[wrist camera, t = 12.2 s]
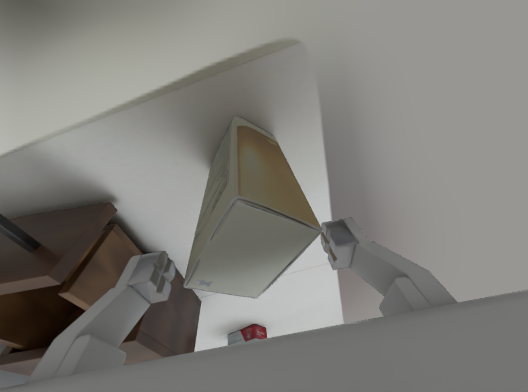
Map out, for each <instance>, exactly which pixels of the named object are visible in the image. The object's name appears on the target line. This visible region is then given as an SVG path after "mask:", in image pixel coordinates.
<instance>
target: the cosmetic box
mask: <svg viewBox="0 0 528 392" xmlns="http://www.w3.org/2000/svg"><path fill="white" fill-rule="evenodd" d="M321 232H322V228H321V227H320V224H319V222H318V221H317V219H316V217H315V215H314V213H313V211H312V209H311V207H310V205H309V203H308V201H307V199H306V197H305V195H304V193H303V191H302V189H301V187H300V185H299V183H298V182H297V180H296V178H295V176H294V174H293V172H292V170H291V168H290V166H289V164H288V162H287V160H286V158H285V156H284V154H283V152H282V150H281V148H280V146H279V144H278V142H277V140H276V138H275V137H273V136H272V135H270V134H268V133H267V132H265V131H263V130H262V129H260V128H258V127H257V126H255V125H253V124H251V123H249V122H248V121H246V120H244V119H242V118H240V117H238V116H235V117H234V118H233V120H232V122H231V124H230V126H229V128H228V130H227V132H226V134H225V136H224V138H223V141H222V143H221V145H220V147H219V150H218V152H217V154H216V157H215V159H214V161H213V164H212V166H211V169H210V172H209V177H208V181H207V185H206V190H205V194H204V198H203V202H202V207H201V211H200V215H199V220H198V224H197V228H196V232H195V237H194V241H193V245H192V249H191V254H190V258H189V262H188V267H187V271H186V276H185V280H184V284H183V287H185V288H189V289H198V290H203V291H209V292H216V293H223V294H229V295H235V296H242V297H251V298H258V297H259V296H260V295H261V294H262V293H264V292H265V291H266V290H267V289H268V288H269V287H270V286H271V285H272V284H273V283H274V282H275V281H276V280H277V279H278V278H279V277H280V276H281V275H282V274H283V273H284V272H285V271H286V270H287V269H288V268H289V267H290V266H291V265H292V264H293V262H294V261H295V260H296V259H297V258H298V257H299V256H300V255H301V254H302V253H303V252H304V251H305V250H306V249H307V247H308V246H309V245H310V244H311V243H312V242H313V241H314V240H315V239H316V238H317V237H318V236H319V235H320V233H321Z"/></svg>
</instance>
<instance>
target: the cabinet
mask: <svg viewBox="0 0 528 392" xmlns="http://www.w3.org/2000/svg"><path fill="white" fill-rule="evenodd" d="M168 259H169V258H168ZM183 284H184V278H183V277H182V276H181V274H180V273H179V272H178V270H177V269H176V268H175V276H174V279H173V280H172V281H171V282H170V285H171V290H170V294H169V297H168V300H166V301H161V302H156V303H152V304H150V306H149V308H148V309H147V310H146V311H145V313H144V314H143V315H142V317H141V318H140V319H139V321H138V322H137V323H136V325H135V326H134V327H133V329H132V330H131V332H130V333H129V334H128V335H127V336H126V338H125V339H124V340H123V342H122V343H121V344H120V346H119V347H118V349H120V350H122V351H124V352H126V355H127V356H126V359H125V362H124V364H123V365H128V364H133V363H138V362H144V361H149V360H154V359H160V358H165V357H170V356H176V355H181V354H186V353H192V352H194V349H195V342H196V335H197V328H198V321H199V314H200V307H201V301H200V300H199V298H198V297H197V296H196V294H195V293H194V292H193V290H192V289H189V288H185V287H183ZM48 348H49V347H44V348H38V349H33V350H27V351H23V350H19V349H16V348H13V347H10V346H6V348H5V349H4V350H3V351H2V353H1V354H0V370H4V371H9V372H13V373H18V374H22V375H26V376H31V374H32V373H33V371H34V369H35V368H36V366H37V365H38V363H39V362H40V360H41V359H42V357H43V356H44V354H45V353H46V351H47V350H48Z"/></svg>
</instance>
